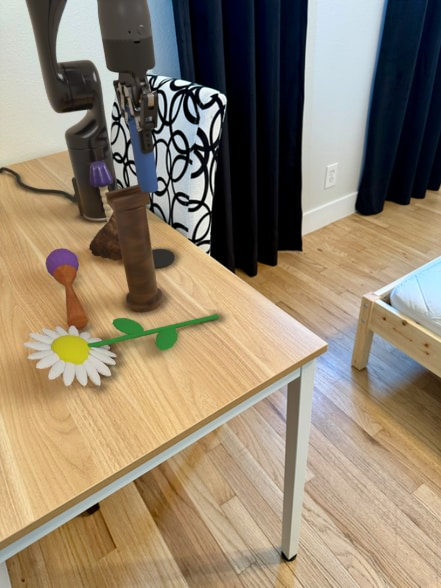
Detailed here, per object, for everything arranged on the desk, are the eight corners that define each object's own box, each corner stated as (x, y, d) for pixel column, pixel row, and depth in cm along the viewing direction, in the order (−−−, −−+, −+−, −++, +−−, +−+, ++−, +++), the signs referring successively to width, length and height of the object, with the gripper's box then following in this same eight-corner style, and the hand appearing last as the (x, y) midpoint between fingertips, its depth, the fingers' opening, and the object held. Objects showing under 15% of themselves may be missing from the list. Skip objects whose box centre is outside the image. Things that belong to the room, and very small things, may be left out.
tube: (161, 190, 78) (143, 195, 77) (153, 183, 81) (135, 188, 79) (153, 122, 71) (133, 126, 70) (145, 117, 73) (125, 120, 72)
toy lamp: (118, 241, 94) (104, 168, 84) (98, 240, 95) (82, 167, 85) (126, 231, 98) (113, 159, 88) (107, 229, 99) (92, 158, 88)
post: (135, 317, 74) (113, 205, 61) (122, 297, 78) (99, 190, 65) (168, 304, 76) (155, 195, 64) (154, 286, 81) (138, 180, 68)
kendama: (52, 317, 68) (38, 249, 81) (68, 340, 72) (52, 272, 86) (88, 302, 69) (68, 238, 83) (101, 326, 73) (80, 261, 87)
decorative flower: (200, 307, 79) (23, 345, 66) (202, 286, 76) (18, 322, 63) (232, 353, 70) (36, 408, 57) (237, 332, 67) (31, 384, 54)
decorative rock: (152, 251, 90) (145, 204, 84) (141, 267, 86) (133, 219, 79) (100, 246, 93) (89, 200, 86) (86, 261, 88) (74, 213, 82)
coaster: (134, 265, 86) (134, 264, 86) (150, 248, 92) (149, 246, 91) (166, 271, 84) (165, 269, 84) (180, 253, 90) (180, 251, 89)
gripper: (87, 31, 67) (108, 142, 78) (119, 41, 57) (138, 166, 68) (132, 27, 70) (146, 134, 81) (170, 35, 60) (180, 156, 71)
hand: (142, 148), depth 74 cm, fingers closed on tube, 3 cm apart
